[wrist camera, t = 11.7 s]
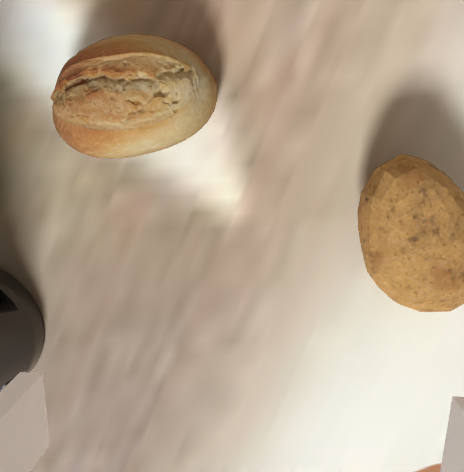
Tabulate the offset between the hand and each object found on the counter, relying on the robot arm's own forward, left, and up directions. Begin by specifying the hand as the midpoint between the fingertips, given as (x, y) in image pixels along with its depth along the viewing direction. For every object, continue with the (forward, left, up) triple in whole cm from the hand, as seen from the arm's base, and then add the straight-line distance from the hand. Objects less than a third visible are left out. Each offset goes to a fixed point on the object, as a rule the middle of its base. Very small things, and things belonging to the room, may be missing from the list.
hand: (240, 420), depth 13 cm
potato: (+14, +1, -29) cm, 32 cm away
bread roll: (-11, +12, -29) cm, 33 cm away
